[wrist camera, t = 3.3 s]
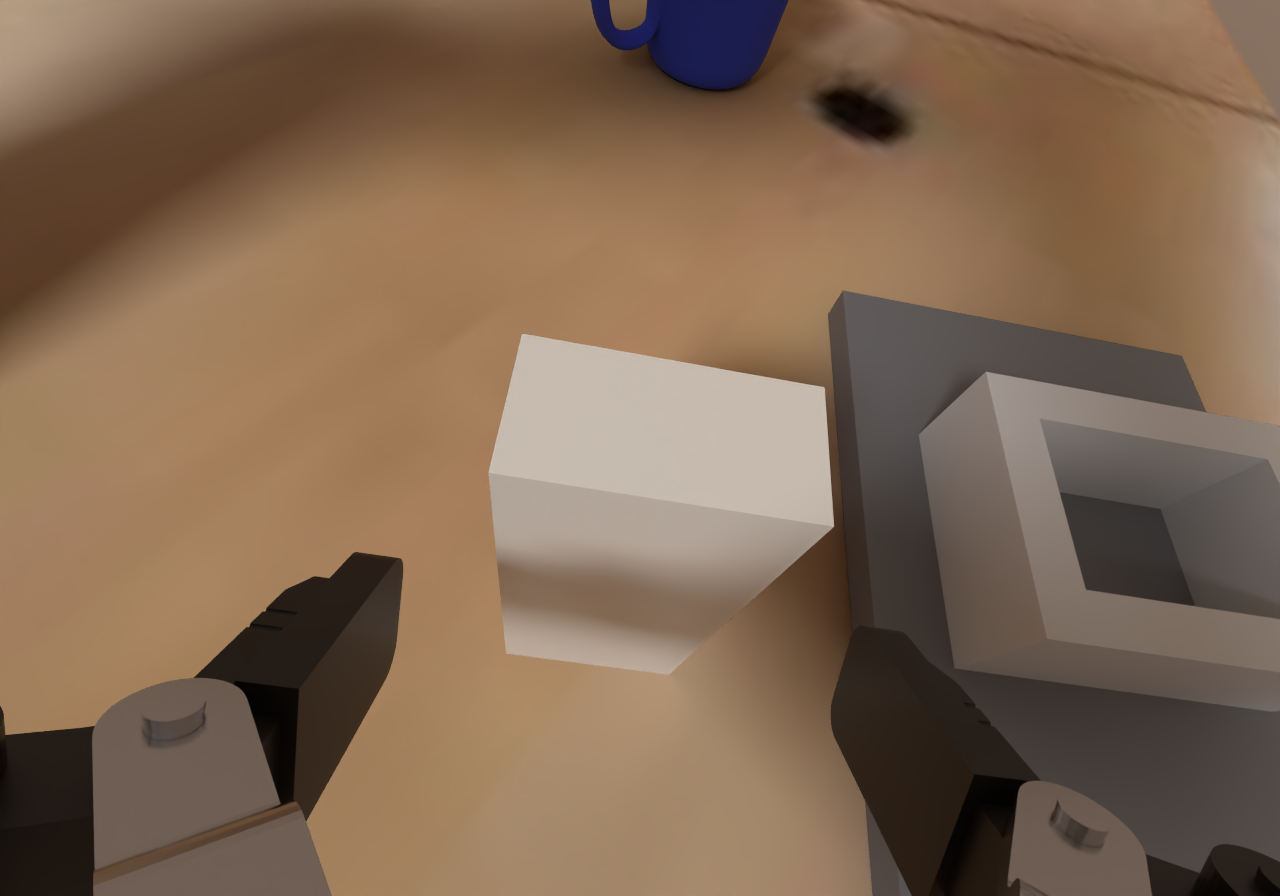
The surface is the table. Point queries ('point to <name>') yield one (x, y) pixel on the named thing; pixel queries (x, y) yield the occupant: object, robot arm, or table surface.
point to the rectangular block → (647, 500)
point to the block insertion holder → (1071, 561)
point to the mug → (700, 37)
